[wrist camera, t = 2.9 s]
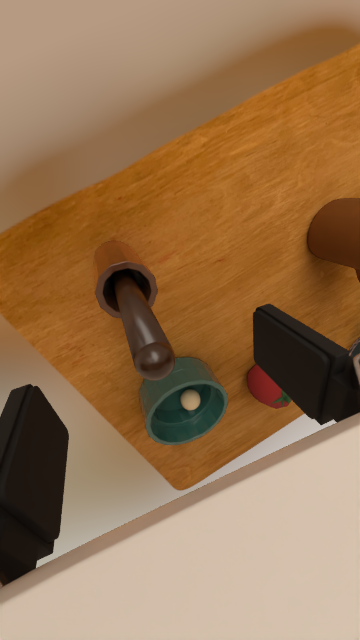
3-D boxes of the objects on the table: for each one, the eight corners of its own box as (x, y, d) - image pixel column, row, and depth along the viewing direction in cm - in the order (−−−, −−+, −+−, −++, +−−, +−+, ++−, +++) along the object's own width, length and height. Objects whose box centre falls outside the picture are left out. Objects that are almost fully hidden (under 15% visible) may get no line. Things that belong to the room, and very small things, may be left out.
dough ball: (179, 402, 37) (186, 417, 35) (176, 389, 35) (182, 404, 33) (196, 395, 38) (204, 409, 35) (194, 382, 36) (202, 396, 34)
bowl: (148, 424, 38) (157, 456, 33) (128, 372, 32) (135, 402, 27) (213, 397, 40) (230, 424, 36) (206, 344, 34) (225, 368, 29)
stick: (110, 273, 25) (143, 395, 10) (104, 257, 24) (132, 363, 9) (127, 269, 25) (183, 380, 10) (122, 252, 24) (176, 348, 9)
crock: (102, 287, 25) (107, 326, 18) (87, 246, 23) (86, 271, 16) (141, 276, 26) (162, 309, 19) (130, 235, 24) (149, 255, 17)
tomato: (264, 389, 44) (292, 420, 38) (232, 384, 40) (257, 418, 34) (288, 354, 41) (322, 381, 35) (256, 346, 38) (287, 374, 32)
